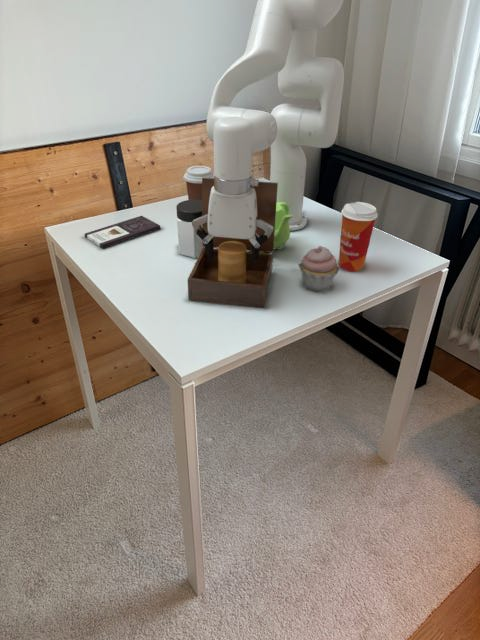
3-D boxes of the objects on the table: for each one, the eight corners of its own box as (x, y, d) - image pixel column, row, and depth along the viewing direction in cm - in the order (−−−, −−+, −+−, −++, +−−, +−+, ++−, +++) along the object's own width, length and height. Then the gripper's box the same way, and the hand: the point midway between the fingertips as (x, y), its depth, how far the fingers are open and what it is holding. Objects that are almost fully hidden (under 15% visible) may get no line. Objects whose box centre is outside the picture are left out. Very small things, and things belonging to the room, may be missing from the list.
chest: (264, 308, 108) (265, 287, 105) (188, 300, 110) (187, 279, 107) (271, 273, 120) (273, 253, 117) (203, 267, 122) (203, 247, 119)
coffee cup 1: (206, 201, 156) (205, 162, 149) (221, 211, 150) (220, 171, 143) (180, 206, 152) (177, 167, 146) (193, 217, 146) (191, 176, 139)
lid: (277, 183, 109) (279, 177, 113) (201, 178, 111) (207, 172, 115) (273, 252, 117) (275, 244, 121) (202, 246, 119) (207, 238, 123)
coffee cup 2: (327, 261, 126) (335, 203, 117) (355, 255, 128) (364, 198, 120) (346, 276, 119) (355, 217, 111) (375, 270, 122) (386, 212, 114)
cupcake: (289, 278, 118) (292, 239, 113) (324, 272, 121) (329, 233, 115) (307, 298, 111) (312, 258, 106) (344, 291, 114) (351, 251, 108)
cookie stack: (224, 274, 118) (223, 239, 113) (249, 279, 116) (250, 243, 111) (214, 287, 113) (213, 251, 108) (240, 292, 111) (241, 256, 106)
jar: (187, 261, 125) (184, 215, 118) (171, 248, 130) (168, 203, 123) (218, 252, 129) (217, 207, 122) (202, 240, 134) (200, 196, 127)
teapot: (299, 238, 136) (303, 193, 129) (288, 262, 125) (292, 214, 118) (241, 230, 139) (242, 186, 132) (226, 253, 128) (226, 206, 121)
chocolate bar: (160, 225, 139) (102, 245, 129) (160, 228, 139) (102, 248, 129) (141, 215, 144) (84, 233, 134) (141, 218, 145) (85, 236, 134)
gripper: (277, 180, 103) (273, 255, 113) (194, 174, 105) (197, 248, 115) (273, 193, 97) (269, 271, 107) (186, 187, 99) (189, 264, 109)
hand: (232, 259), depth 111 cm, fingers open, 9 cm apart
